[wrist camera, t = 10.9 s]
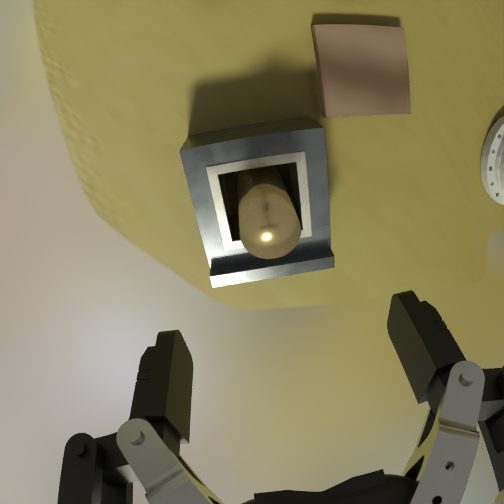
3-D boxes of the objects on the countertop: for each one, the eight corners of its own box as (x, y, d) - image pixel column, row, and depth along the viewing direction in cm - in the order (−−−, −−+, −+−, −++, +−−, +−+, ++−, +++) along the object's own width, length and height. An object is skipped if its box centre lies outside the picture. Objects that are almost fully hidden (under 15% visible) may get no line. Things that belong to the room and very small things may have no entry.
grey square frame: (187, 136, 22) (177, 155, 18) (309, 117, 22) (328, 130, 17) (215, 250, 27) (212, 287, 23) (318, 233, 27) (334, 267, 23)
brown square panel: (310, 26, 18) (314, 24, 17) (397, 28, 18) (403, 27, 17) (322, 116, 22) (326, 118, 21) (404, 111, 21) (410, 114, 21)
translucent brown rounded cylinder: (233, 164, 23) (234, 210, 17) (278, 157, 23) (298, 200, 17) (241, 204, 25) (245, 263, 19) (283, 198, 25) (303, 253, 18)
